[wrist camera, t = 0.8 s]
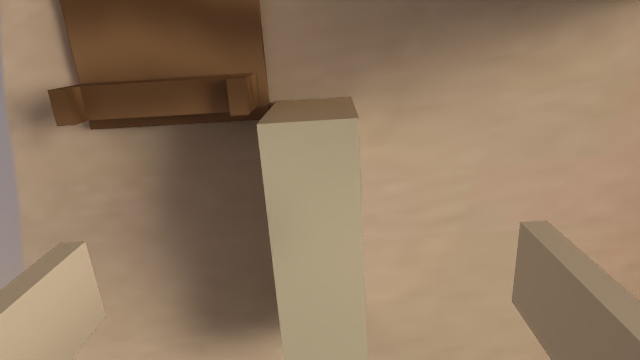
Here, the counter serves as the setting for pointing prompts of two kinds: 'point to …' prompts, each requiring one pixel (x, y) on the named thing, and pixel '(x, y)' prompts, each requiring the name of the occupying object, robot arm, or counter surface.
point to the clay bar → (316, 226)
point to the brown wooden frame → (163, 63)
